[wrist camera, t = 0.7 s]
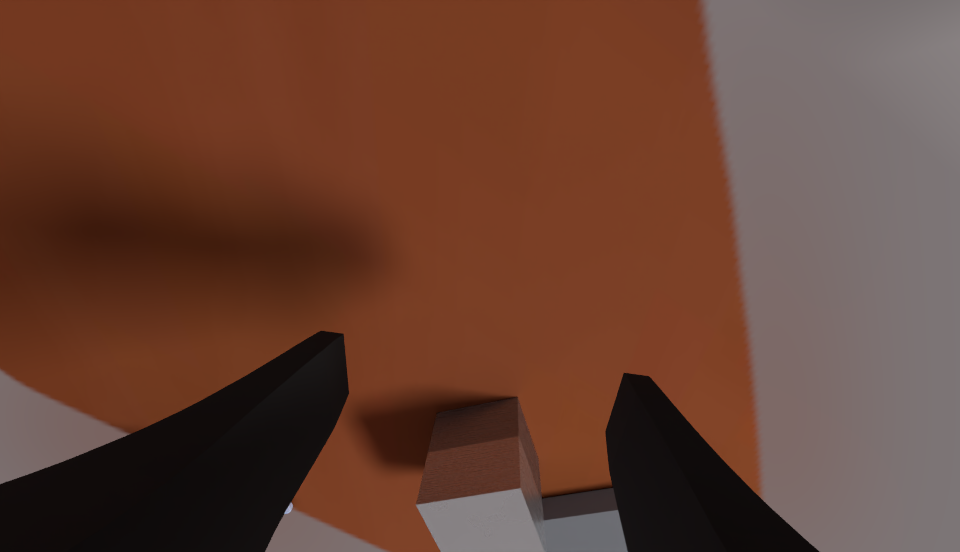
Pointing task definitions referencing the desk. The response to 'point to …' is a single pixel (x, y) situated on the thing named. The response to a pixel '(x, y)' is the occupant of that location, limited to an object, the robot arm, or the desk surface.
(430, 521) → the block
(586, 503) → the stand
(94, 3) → the desk surface
